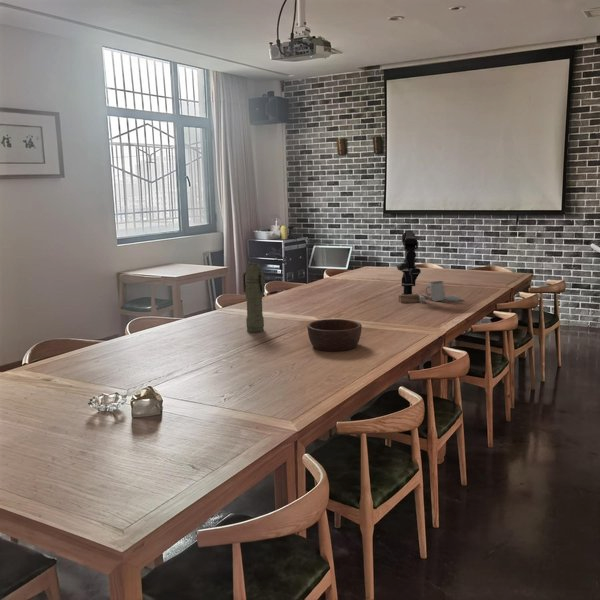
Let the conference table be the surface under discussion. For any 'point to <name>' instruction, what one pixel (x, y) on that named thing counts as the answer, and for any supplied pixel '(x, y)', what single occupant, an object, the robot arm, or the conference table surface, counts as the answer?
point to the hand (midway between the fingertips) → (410, 282)
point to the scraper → (411, 298)
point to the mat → (451, 298)
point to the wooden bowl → (334, 334)
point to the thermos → (254, 297)
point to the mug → (436, 290)
